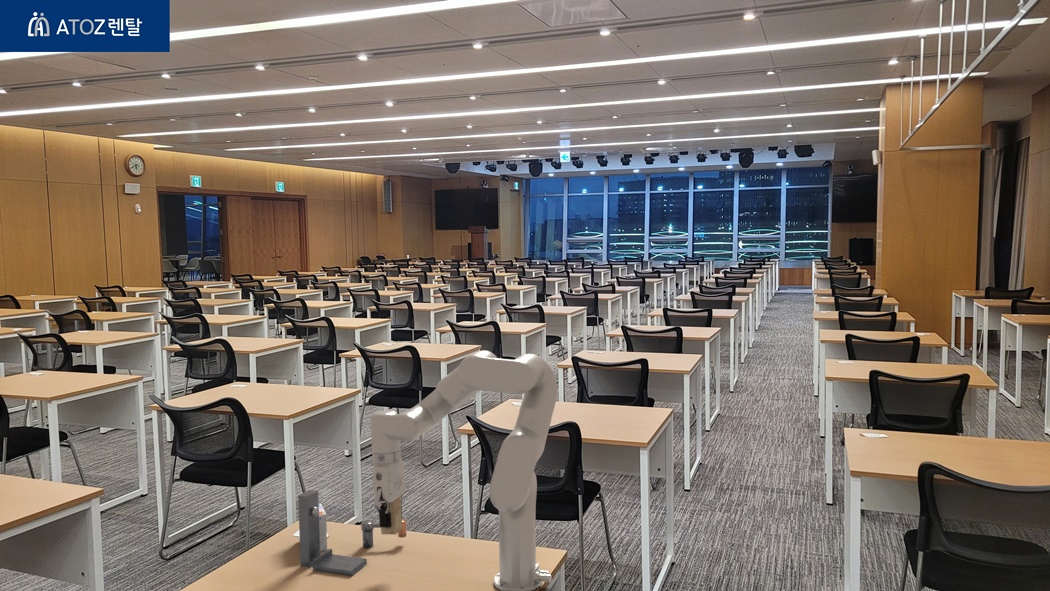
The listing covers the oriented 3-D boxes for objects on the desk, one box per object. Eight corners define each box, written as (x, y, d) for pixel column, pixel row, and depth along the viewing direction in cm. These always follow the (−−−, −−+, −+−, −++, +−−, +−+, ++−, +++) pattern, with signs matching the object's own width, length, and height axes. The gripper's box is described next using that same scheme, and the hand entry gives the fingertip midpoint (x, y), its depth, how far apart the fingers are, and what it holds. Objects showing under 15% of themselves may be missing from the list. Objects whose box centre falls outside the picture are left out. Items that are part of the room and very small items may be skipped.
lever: (361, 540, 214) (360, 525, 214) (362, 536, 218) (361, 520, 217) (406, 538, 216) (405, 522, 215) (406, 533, 219) (406, 518, 219)
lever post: (375, 544, 217) (374, 528, 217) (370, 548, 214) (369, 532, 214) (366, 543, 218) (365, 527, 218) (360, 547, 215) (360, 531, 215)
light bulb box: (299, 541, 221) (297, 506, 220) (322, 537, 224) (320, 502, 223) (304, 554, 211) (303, 517, 210) (328, 550, 214) (327, 514, 213)
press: (366, 564, 204) (364, 493, 203) (351, 576, 196) (349, 503, 195) (314, 556, 209) (312, 488, 208) (297, 568, 202) (294, 497, 200)
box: (395, 535, 196) (392, 494, 195) (380, 534, 196) (377, 494, 196) (403, 527, 201) (400, 488, 200) (388, 527, 202) (385, 487, 201)
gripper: (383, 466, 188) (388, 535, 189) (413, 448, 204) (417, 512, 205) (358, 465, 190) (362, 533, 191) (389, 448, 207) (394, 511, 208)
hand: (391, 522), depth 198 cm, fingers closed on box, 5 cm apart
